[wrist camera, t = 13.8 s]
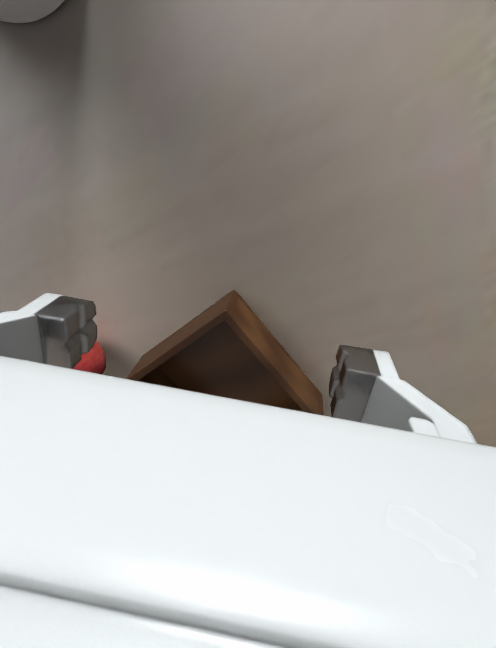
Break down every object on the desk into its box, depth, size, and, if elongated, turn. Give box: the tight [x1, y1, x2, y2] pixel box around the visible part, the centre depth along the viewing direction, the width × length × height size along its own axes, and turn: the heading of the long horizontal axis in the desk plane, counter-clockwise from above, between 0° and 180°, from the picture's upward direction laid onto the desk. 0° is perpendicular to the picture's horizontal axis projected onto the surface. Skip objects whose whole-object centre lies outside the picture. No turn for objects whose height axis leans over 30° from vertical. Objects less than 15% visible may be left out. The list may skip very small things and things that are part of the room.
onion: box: [73, 342, 106, 374], centre depth 43 cm, size 6×6×8 cm
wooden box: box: [126, 290, 324, 416], centre depth 43 cm, size 17×15×5 cm
